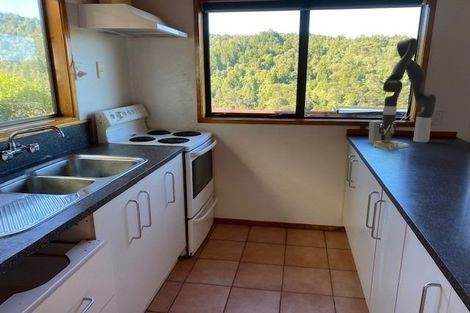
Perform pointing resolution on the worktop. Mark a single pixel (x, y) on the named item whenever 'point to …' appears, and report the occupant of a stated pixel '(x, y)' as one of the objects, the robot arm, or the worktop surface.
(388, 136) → the dowel
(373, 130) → the skincare box
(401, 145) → the tray
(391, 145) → the pocket block
